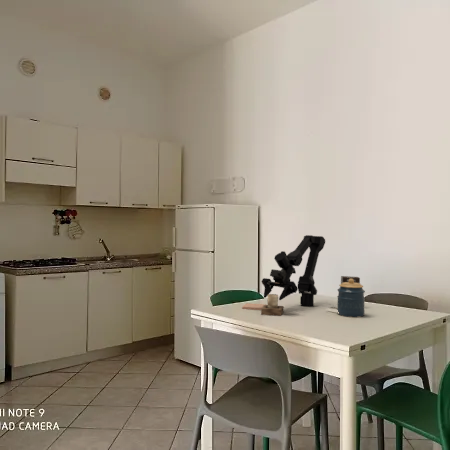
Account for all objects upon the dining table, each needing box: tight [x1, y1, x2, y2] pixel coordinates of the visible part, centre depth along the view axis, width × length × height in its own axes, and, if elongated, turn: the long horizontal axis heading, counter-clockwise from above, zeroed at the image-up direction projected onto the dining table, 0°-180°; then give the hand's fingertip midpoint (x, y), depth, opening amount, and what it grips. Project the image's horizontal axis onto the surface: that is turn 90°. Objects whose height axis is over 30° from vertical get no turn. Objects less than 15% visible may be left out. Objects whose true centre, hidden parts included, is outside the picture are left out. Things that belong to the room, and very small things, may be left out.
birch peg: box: [266, 293, 279, 309], centre depth 214 cm, size 5×5×9 cm
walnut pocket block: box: [260, 304, 284, 317], centre depth 214 cm, size 10×10×3 cm
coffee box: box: [340, 275, 361, 284], centre depth 236 cm, size 9×6×16 cm
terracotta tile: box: [241, 303, 267, 311], centre depth 229 cm, size 11×11×1 cm
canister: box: [336, 279, 366, 318], centre depth 215 cm, size 13×13×18 cm
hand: (271, 298), depth 214 cm, fingers open, 9 cm apart
